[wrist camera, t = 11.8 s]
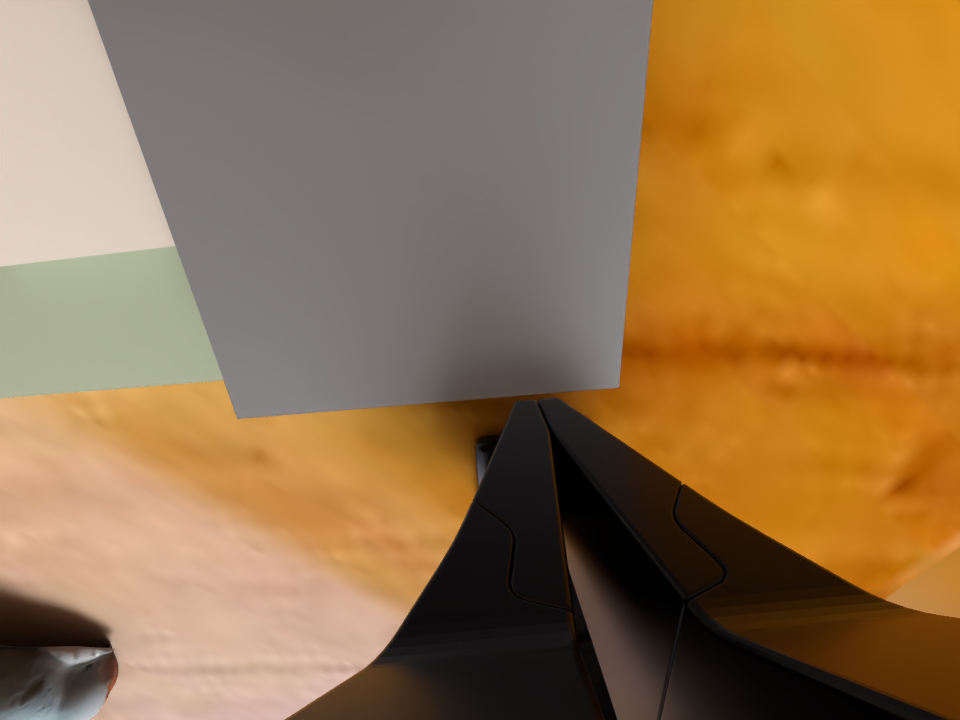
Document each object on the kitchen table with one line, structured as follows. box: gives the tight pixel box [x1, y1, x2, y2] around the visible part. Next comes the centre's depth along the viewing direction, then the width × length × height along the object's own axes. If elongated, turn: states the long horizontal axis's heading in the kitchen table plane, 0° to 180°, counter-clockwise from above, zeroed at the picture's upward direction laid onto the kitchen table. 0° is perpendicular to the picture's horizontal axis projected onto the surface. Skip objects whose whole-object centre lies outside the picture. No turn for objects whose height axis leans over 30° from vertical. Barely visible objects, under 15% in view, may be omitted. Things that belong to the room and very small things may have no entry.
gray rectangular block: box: [88, 0, 653, 419], centre depth 16 cm, size 22×16×4 cm
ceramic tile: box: [0, 0, 175, 267], centre depth 16 cm, size 9×9×2 cm
